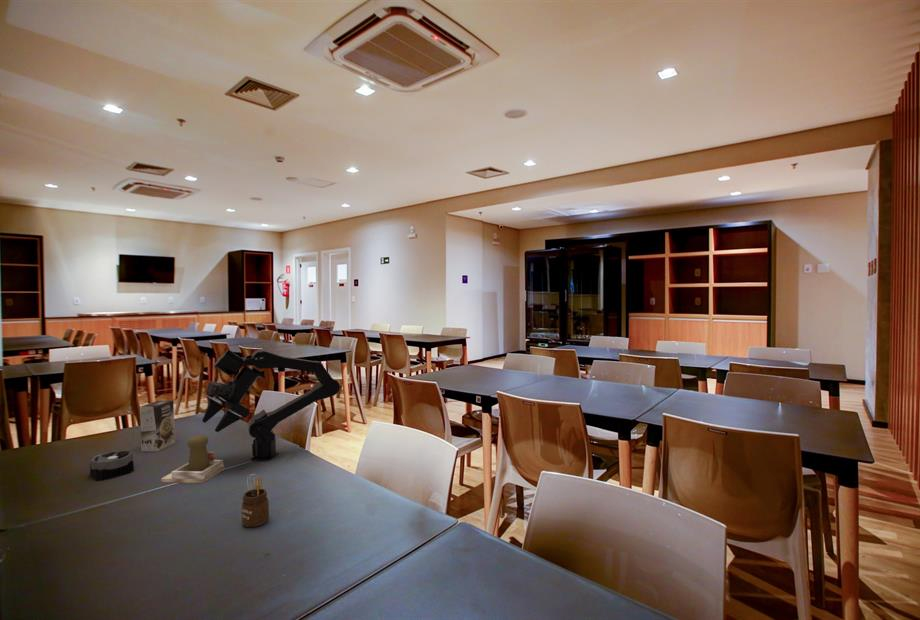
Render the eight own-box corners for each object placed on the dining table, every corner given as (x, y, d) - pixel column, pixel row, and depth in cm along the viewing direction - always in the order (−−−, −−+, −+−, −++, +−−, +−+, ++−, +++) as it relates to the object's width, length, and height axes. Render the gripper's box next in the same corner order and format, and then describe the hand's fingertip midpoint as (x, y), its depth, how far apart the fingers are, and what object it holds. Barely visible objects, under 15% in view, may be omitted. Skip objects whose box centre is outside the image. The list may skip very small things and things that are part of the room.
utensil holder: (263, 512, 110) (262, 465, 109) (273, 521, 105) (271, 472, 105) (238, 521, 106) (236, 472, 105) (247, 531, 101) (245, 480, 101)
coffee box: (158, 451, 153) (156, 406, 153) (140, 451, 153) (138, 406, 153) (176, 442, 162) (174, 399, 162) (158, 442, 163) (157, 399, 162)
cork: (214, 468, 136) (213, 433, 135) (201, 476, 130) (200, 439, 129) (196, 467, 136) (195, 432, 136) (182, 475, 130) (181, 439, 130)
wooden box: (224, 469, 137) (223, 451, 137) (202, 483, 127) (202, 464, 127) (185, 468, 138) (184, 451, 138) (161, 481, 128) (160, 463, 128)
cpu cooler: (136, 454, 136) (95, 464, 128) (137, 472, 136) (95, 483, 128) (126, 447, 142) (86, 456, 135) (127, 464, 143) (87, 474, 135)
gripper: (209, 364, 143) (175, 407, 137) (236, 379, 131) (200, 426, 125) (236, 380, 150) (205, 421, 144) (263, 395, 139) (231, 440, 133)
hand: (209, 426), depth 137 cm, fingers open, 9 cm apart
